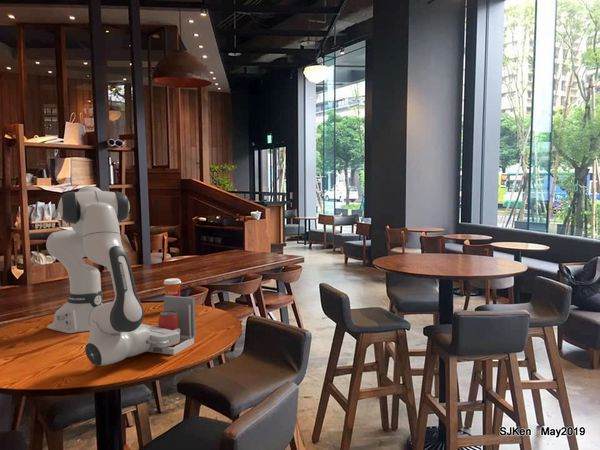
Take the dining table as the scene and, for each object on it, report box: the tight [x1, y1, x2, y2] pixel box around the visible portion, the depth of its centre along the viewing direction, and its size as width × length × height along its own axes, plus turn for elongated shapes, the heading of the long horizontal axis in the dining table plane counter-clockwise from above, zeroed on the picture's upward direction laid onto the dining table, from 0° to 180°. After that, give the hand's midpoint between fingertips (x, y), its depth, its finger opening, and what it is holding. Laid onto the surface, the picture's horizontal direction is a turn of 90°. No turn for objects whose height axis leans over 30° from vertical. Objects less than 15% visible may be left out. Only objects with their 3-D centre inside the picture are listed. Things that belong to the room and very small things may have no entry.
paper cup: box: [163, 278, 182, 297], centre depth 210 cm, size 8×8×14 cm
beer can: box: [157, 310, 180, 348], centre depth 160 cm, size 7×7×12 cm
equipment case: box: [146, 295, 197, 356], centre depth 160 cm, size 12×14×16 cm
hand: (170, 328), depth 161 cm, fingers closed on beer can, 7 cm apart
